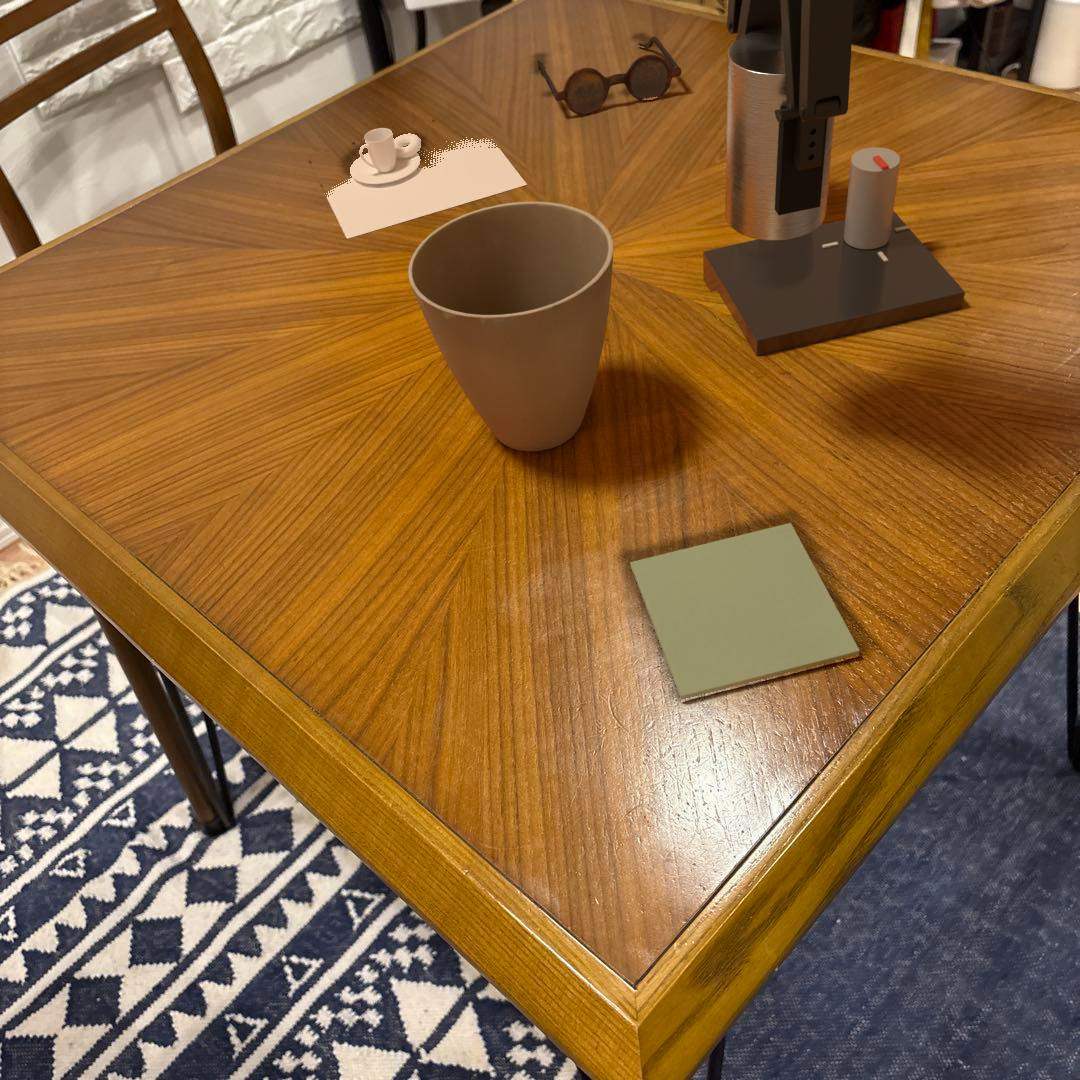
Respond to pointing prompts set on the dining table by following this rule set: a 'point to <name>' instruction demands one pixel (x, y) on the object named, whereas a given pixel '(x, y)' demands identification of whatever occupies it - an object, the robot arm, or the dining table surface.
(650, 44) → the eyeglasses
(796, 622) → the trivet
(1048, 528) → the dining table surface
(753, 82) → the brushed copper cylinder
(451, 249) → the plant pot
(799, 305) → the hob control panel
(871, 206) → the hob knob
